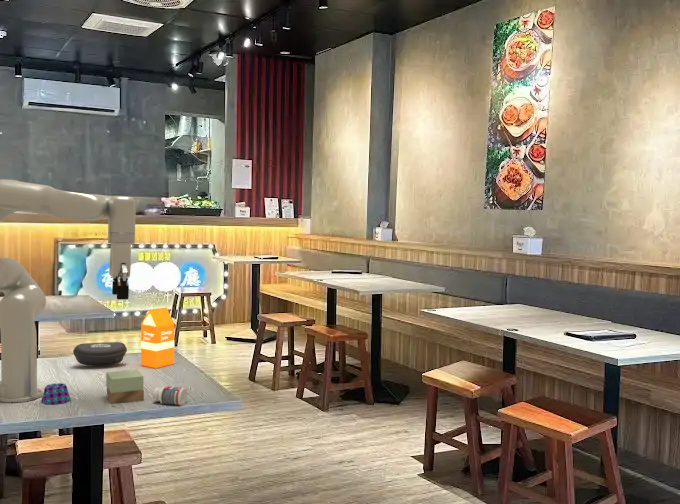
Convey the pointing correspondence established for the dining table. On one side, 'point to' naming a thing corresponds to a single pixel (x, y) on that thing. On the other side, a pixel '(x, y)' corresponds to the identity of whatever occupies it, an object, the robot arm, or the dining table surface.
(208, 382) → the dining table surface
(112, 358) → the glasses case
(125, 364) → the dining table surface
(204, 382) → the dining table surface
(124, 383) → the tower top slab
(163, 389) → the pill bottle
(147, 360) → the orange juice
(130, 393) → the tower base slab
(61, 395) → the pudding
